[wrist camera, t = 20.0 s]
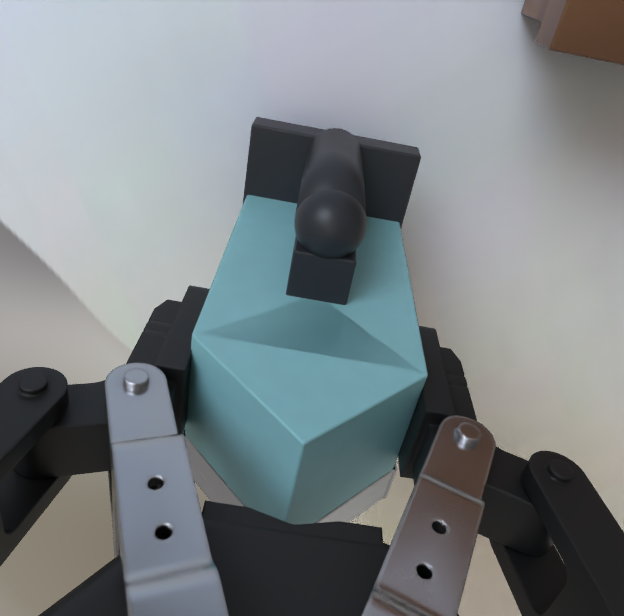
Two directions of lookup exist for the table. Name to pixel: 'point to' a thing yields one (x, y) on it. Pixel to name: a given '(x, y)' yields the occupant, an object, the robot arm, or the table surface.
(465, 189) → the table surface
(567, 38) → the stand
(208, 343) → the iron
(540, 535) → the robot arm
